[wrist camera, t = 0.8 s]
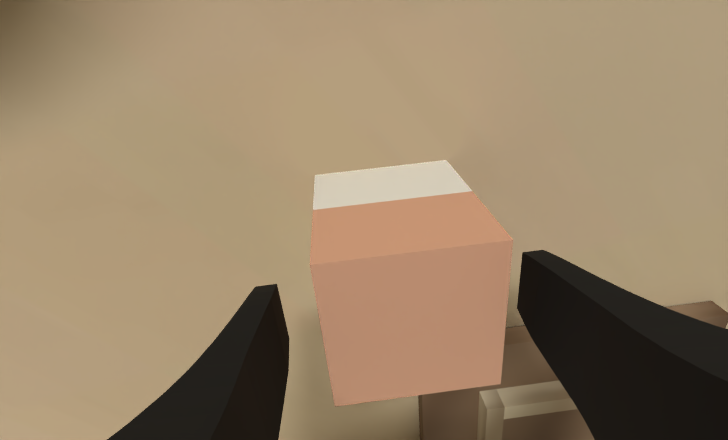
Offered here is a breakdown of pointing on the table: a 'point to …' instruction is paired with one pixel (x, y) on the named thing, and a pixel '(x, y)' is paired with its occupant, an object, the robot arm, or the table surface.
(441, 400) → the walnut board
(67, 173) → the table surface
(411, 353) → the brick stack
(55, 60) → the table surface
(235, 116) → the table surface
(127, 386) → the table surface
